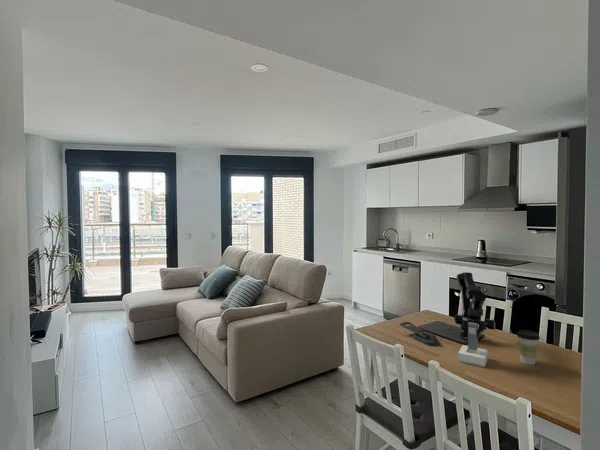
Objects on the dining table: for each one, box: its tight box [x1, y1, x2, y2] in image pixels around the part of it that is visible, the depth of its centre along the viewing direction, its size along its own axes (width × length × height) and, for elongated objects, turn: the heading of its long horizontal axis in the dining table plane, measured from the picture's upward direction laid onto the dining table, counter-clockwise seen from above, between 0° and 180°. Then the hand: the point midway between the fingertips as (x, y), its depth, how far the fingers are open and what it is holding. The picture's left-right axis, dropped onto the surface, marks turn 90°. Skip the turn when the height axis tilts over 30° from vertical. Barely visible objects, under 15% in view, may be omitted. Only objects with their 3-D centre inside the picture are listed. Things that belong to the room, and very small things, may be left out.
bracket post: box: [467, 322, 479, 351], centre depth 175 cm, size 5×4×13 cm
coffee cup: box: [516, 329, 541, 365], centre depth 172 cm, size 10×10×15 cm
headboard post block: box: [457, 344, 489, 368], centre depth 176 cm, size 12×12×4 cm
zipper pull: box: [399, 321, 439, 347], centre depth 207 cm, size 9×7×25 cm
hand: (472, 336), depth 175 cm, fingers closed on bracket post, 4 cm apart
